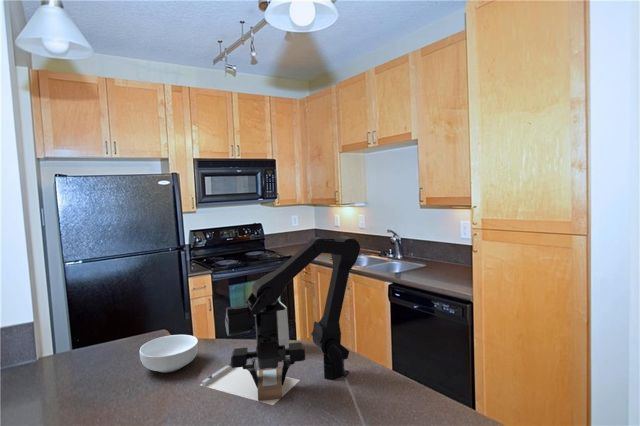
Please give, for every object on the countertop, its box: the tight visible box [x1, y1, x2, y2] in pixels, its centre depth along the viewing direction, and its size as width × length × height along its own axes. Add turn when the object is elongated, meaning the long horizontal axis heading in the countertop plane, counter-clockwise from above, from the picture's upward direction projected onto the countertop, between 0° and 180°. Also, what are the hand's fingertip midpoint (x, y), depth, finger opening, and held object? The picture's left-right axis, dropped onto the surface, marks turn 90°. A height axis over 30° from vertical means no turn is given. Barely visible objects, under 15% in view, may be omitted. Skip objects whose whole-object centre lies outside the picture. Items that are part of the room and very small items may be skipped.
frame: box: [257, 366, 283, 402], centre depth 100 cm, size 11×6×3 cm, turn 8°
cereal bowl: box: [139, 334, 199, 374], centre depth 117 cm, size 17×17×7 cm
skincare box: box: [277, 300, 290, 348], centre depth 124 cm, size 8×7×16 cm
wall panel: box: [200, 362, 301, 406], centre depth 104 cm, size 13×24×2 cm, turn 63°
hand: (270, 386), depth 100 cm, fingers closed on frame, 6 cm apart
